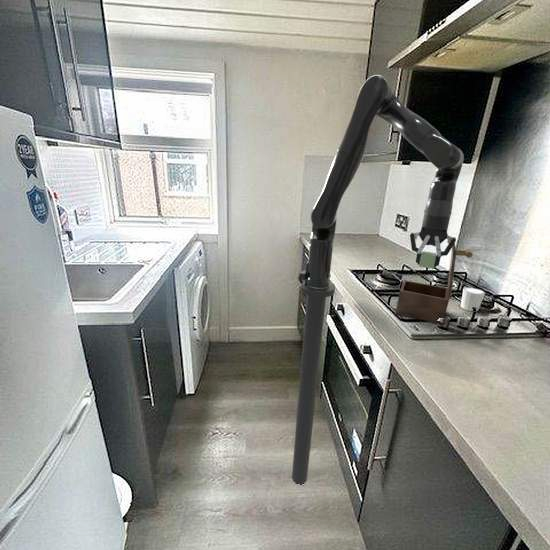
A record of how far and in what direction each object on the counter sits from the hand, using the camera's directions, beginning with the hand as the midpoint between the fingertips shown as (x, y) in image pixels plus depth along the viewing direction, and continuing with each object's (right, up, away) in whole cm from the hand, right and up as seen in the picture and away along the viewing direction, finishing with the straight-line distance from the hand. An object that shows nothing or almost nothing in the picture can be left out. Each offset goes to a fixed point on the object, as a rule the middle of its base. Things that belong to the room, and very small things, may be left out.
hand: (426, 265), depth 101 cm
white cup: (+21, -16, +11) cm, 29 cm away
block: (0, 0, 0) cm, 0 cm away
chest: (0, -17, +5) cm, 17 cm away
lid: (+6, -2, -3) cm, 7 cm away
